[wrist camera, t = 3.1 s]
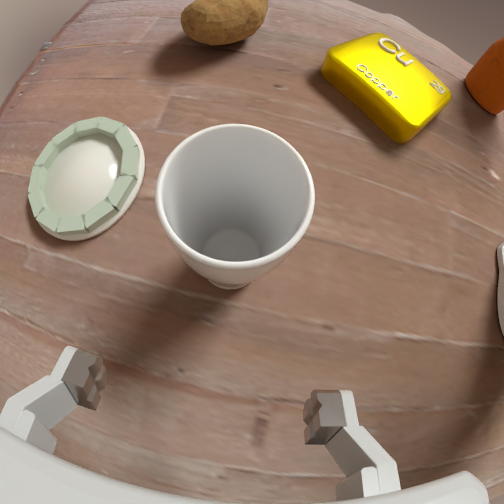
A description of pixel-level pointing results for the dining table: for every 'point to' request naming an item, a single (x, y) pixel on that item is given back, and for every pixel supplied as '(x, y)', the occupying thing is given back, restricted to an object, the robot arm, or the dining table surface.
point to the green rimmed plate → (86, 179)
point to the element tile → (386, 84)
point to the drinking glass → (234, 202)
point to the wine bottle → (489, 79)
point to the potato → (223, 20)
